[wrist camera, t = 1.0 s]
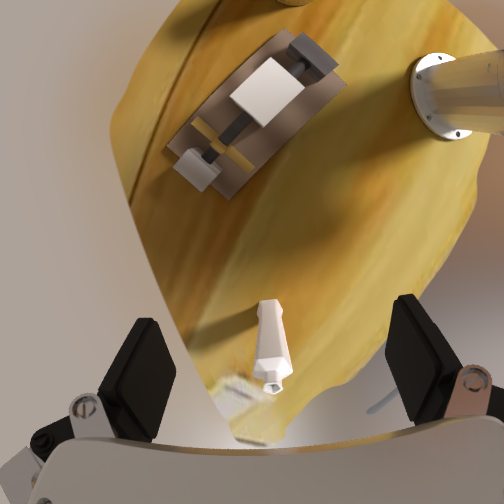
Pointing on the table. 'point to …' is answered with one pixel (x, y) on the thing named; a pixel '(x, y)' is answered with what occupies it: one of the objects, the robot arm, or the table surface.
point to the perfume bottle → (271, 347)
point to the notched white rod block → (266, 92)
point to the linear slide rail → (243, 125)
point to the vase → (294, 2)
